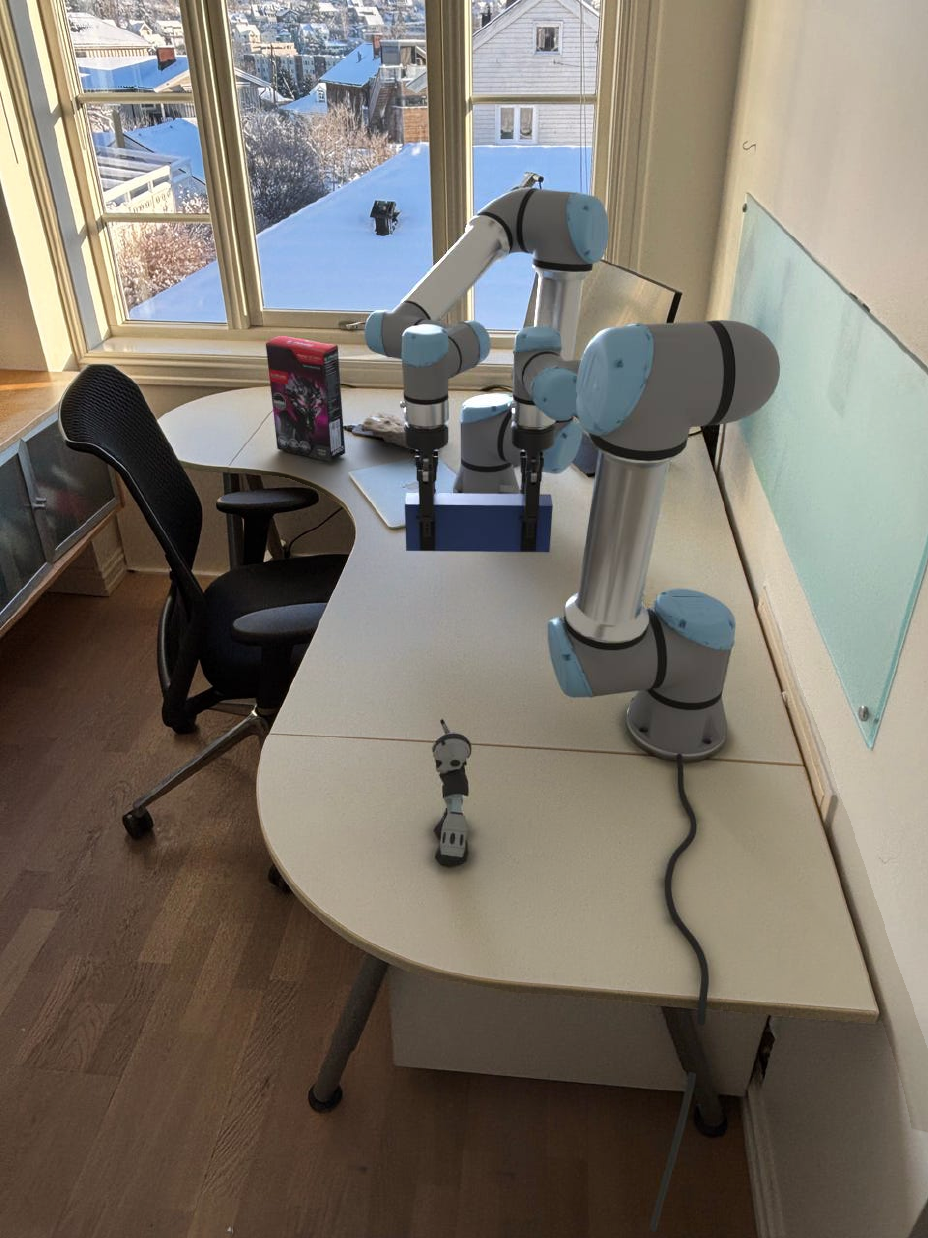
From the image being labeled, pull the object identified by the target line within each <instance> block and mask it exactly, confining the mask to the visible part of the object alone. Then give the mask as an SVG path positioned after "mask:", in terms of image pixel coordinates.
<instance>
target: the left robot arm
mask: <svg viewBox="0 0 928 1238" xmlns="http://www.w3.org/2000/svg"><path fill="white" fill-rule="evenodd" d="M609 224H610V223H609V218H608V213H607V209H606V208H605V206H604V203H603V202H602V200H600V198H598V197H597V196H594V195H592V194H586V193H582V192H579V191H567V190H556V189H555V190H554V189H544V188H537V187H520V188H516V189H514V190H511V191H508V192H506V193H503V194H502V195H499V196H498V197H496V198H495V199H493V200H492V201H490V202H489V203H487V204H486V205H484V206H483V207H482V208H481V209H480V210H478V211H477V213H475V214H474V215H473V217H472V218H470V219H469V221H468V222H467V225H466V227H465V233H464V234H463V235H462V236H461V237H460V238H459V239H458V240H457V242H456V243H454V245H453V246H452V247H451V248H450V249H449V250H448V251H447V252H446V254H444V256H443V257H442V258H441V259H440V260H439V261H438V262H437V263H436V264H435V265H434V266H433V267H432V268H431V269H430V271H428V272H427V274H426V275H425V276H424V277H423V278H422V279H421V280H420V281H419V282H418V283H417V284H416V285H415V286H414V287H413V288H412V289H411V291H410V292H409V293H407V295H406V296H405V297H404V298H403V299H402V300H401V301H400V302H399V304H398V305H396V307H395V308H394V309H393V310H392V311H391V310H388V309H385V310H380V309H378V310H376V311H373V312H372V313H371V314H370V315H369V316H368V317H367V319H366V322H365V324H364V332H363V334H364V335H363V336H364V340H365V343H366V346H367V347H368V349H369V350H370V351H371V352H372V353H376V354H378V355H381V356H385V357H387V358H392V359H397V360H401V367H402V385H403V393H402V394H403V395H402V396H403V401H400V402H399V407H400V408H401V409H403V419H404V421H405V423H404V438H405V443H406V445H407V446H409V447H410V448H412V449H411V450H415V456H414V466H415V467H416V481H417V482H418V493H419V516H416V520H419V523H420V551H419V552H436V551H435V515H434V493H437V489H436V482H437V478H438V477H437V476H438V473H437V472H438V465H439V450H440V449H442V448H445V447H446V446H447V445H448V443H449V422H448V421H449V419H450V409H449V408H450V397H449V381H450V379H453V378H454V377H456V376H458V375H460V374H463V373H464V372H467V371H469V370H471V369H474V368H476V367H477V366H478V365H479V364H480V363H483V362H484V361H485V360H486V359H487V358H488V356H489V354H490V352H491V346H492V345H491V336H490V334H489V332H488V330H487V328H486V327H485V326H484V325H483V324H481V323H480V322H479V321H476V320H471V319H470V320H466V321H463V320H462V321H460V322H458V323H457V324H454V323H453V324H452V323H449V322H443V320H444V319H445V318H446V317H447V315H448V314H449V313H450V312H451V311H452V310H453V309H454V308H455V307H456V305H457V304H459V302H460V301H461V300H462V299H463V298H464V296H465V295H466V294H467V293H468V292H469V291H470V290H471V289H472V288H473V287H474V286H475V284H476V283H477V282H478V281H479V280H480V279H481V278H482V277H483V275H484V274H485V273H486V272H487V271H488V270H489V269H490V268H491V266H492V265H493V264H494V263H495V264H496V263H500V262H502V261H504V260H505V259H506V258H507V257H508V256H509V255H510V254H513V253H524V254H529V255H530V254H531V255H532V264H531V265H532V268H533V269H534V271H535V272H536V273H537V275H538V285H537V293H536V304H535V314H534V324H533V327H534V326H542V327H549V328H553V329H555V330H557V331H558V332H559V333H560V334H561V347H562V350H561V357H562V359H563V360H564V361H570V360H574V356H575V349H576V341H577V332H578V325H579V316H580V307H581V300H582V294H583V293H582V291H583V284H584V280H585V278H586V277H588V276H589V275H590V274H591V273H592V272H593V268H594V267H593V266H594V264H597V263H599V262H600V261H601V260H602V259H603V257H604V255H605V253H606V252H605V251H606V249H607V248H608V247H607V246H608V244H609V243H608V242H609V233H610V232H609V231H610V229H609V226H610V225H609ZM509 403H513V395H511V394H508V393H507V394H506V393H486V394H485V393H484V394H480V395H476V396H474V397H471V398H469V399H467V400H466V401H465V402H463V404H462V406H461V409H460V419H459V424H460V464H459V468H458V470H457V474H456V476H455V479H454V481H453V485H452V489H453V493H461V494H520V486H519V483H518V478H517V475H516V472H515V469H514V467H513V466H514V465H517V466H521V461H520V451H523V450H521V449H518V448H516V447H514V446H513V445H512V443H511V424H512V422H513V420H512V409H511V408H509V407H508V405H509ZM574 417H575V416H574ZM574 417H572V418H570V419H568V420H563V421H559V420H556V422H555V423H554V424H555V425H556V429H555V442H554V445H553V446H552V447H551V448H549V449H547V450H543V457H544V466H543V468H542V473H548V474H551V475H558V474H562V473H563V472H564V471H566V470H567V469H568V468H569V467H570V466H571V464H572V463H573V462H574V460H575V459H576V457H577V454H578V451H579V449H580V447H581V443H582V439H583V427H582V426H581V424H580V422H578V420H574Z"/></svg>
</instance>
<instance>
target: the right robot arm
mask: <svg viewBox="0 0 928 1238" xmlns="http://www.w3.org/2000/svg"><path fill="white" fill-rule="evenodd" d="M561 350H562V347H561V334H560V333H559V332H558V331H557V330H555V329H553V328H549V327H542V326H534V325H533V326H526V327H523V328H521V329H519V330H518V331H517V332H516V334H515V337H514V346H513V350H512V354H513V371H512V373H513V374H512V376H513V377H512V397H513V403H509V405H508V407H509V408H511V409H512V420H513V422H512V424H511V443H512V445H513V446H514V447H516V448H518V449H521V450H523V451H520V461H521V466H520V465H519V466H520V467H519V468H520V473H521V478H520V479H521V480H520V481H521V482H520V489H519V494H524V506H523V516H519V521H522V527H521V548H520V550H521V551H536V536H537V522H538V520H539V517H538V515H539V498H540V494H541V483H542V481H543V472H542V468H543V466H544V457H543V450H547V449H549V448H551V447H552V446H553V445H554V442H555V429H556V425H555V424H554V423H555V422H556V420H559V421H563V420H568V419H570V418H572V417H576V416H577V418H578V421H579V422H578V423H580V424H581V426H582V430H584V431H585V432H586V433H588V439H589V441H590V444H592V446H593V447H594V448H595V449H596V450H597V452H598V454H597V459H596V460H597V461H596V466H595V472H594V473H595V474H594V480H593V489H592V494H591V502H590V508H589V516H588V523H587V530H586V537H585V544H584V549H583V556H582V557H583V558H582V563H581V564H582V565H581V571H580V579H579V586H578V592H576V593H574V594H573V595H572V596H570V598H569V599H568V600H567V602H566V604H565V608H564V614H563V617H560V616H556V617H555V618H551V620H549V621H548V623H547V630H546V633H547V634H546V635H547V645H548V651H549V656H550V661H551V665H552V668H553V669H552V670H553V673H554V675H555V678H556V682H557V683H558V686H559V688H560V689H561V691H562V692H563V694H565V695H566V696H568V697H570V698H573V699H574V698H575V699H576V698H590V699H592V698H595V697H601V696H609V695H616V694H624V693H625V694H626V693H630V692H636V694H635V695H634V697H632V698H631V700H630V704H629V706H628V708H627V711H626V719H625V728H626V732H627V734H628V736H629V738H630V739H631V741H632V742H634V744H636V745H637V746H638V747H639V748H640V749H641V750H643V751H645V752H646V753H648V754H650V755H651V756H654V757H656V758H659V759H662V760H666V761H670V762H675V763H676V768H677V769H676V770H677V791H678V795H679V799H680V801H681V804H682V806H683V808H684V810H685V811H686V814H687V816H688V818H689V823H690V827H689V832H688V834H687V836H686V838H685V839H684V840H683V841H682V843H681V844H680V845H679V846H677V848H676V849H675V850H674V852H673V853H672V855H670V857H669V860H668V863H667V868H666V870H665V876H664V896H665V903H666V906H667V910H668V912H669V915H670V917H671V919H672V921H673V922H674V924H675V925H676V927H677V928H678V930H679V931H680V932H681V933H682V935H683V936H684V937H685V938H686V940H687V941H688V942H689V944H690V946H691V947H692V949H693V950H694V952H695V954H696V957H697V959H698V960H697V961H698V963H699V967H700V988H699V996H698V1004H697V1018H696V1021H697V1024H698V1025H699V1026H702V1027H703V1026H704V1025H705V1023H706V1013H707V1012H706V1011H707V1002H708V994H709V983H710V980H709V979H710V976H709V967H708V962H707V958H706V955H705V953H704V951H703V948H702V946H701V945H700V943H699V941H698V940H697V939H696V937H695V936H694V935H693V933H692V932H691V931H690V929H689V928H688V927H687V926H686V924H685V923H684V922H683V920H682V919H681V917H680V916H679V913H678V912H677V909H676V906H675V903H674V898H673V893H672V880H673V875H674V870H675V866H676V863H677V861H678V859H679V858H680V856H681V855H682V854H683V853H684V852H685V850H687V848H688V847H689V846H690V845H691V844H692V842H693V841H694V840H695V837H696V834H697V829H698V828H697V826H698V824H697V823H698V822H697V818H696V815H695V812H694V810H693V807H692V806H691V804H690V802H689V800H688V798H687V794H686V791H685V786H684V782H685V781H684V780H685V779H684V763H694V762H700V761H703V760H706V759H709V758H711V757H714V755H716V754H718V752H720V751H721V750H722V748H723V747H724V744H725V743H726V740H727V739H726V738H727V734H728V721H727V716H726V712H725V708H724V707H725V706H724V701H723V692H724V686H725V682H726V678H727V672H728V668H729V664H730V659H731V654H732V651H733V650H732V649H733V648H734V646H735V635H736V618H735V616H734V614H733V612H732V611H731V609H730V608H729V607H728V606H727V605H726V604H725V603H723V602H722V601H721V600H719V599H717V598H715V596H712V595H709V594H707V593H704V592H702V591H699V590H694V589H689V588H670V589H667V590H666V589H665V590H663V591H662V592H661V593H660V594H658V595H657V597H656V599H654V602H653V607H650V608H649V607H648V608H647V607H646V606H645V604H644V603H643V602H642V601H643V597H644V592H645V587H646V581H647V577H648V572H649V567H650V562H651V558H652V557H651V556H652V551H653V547H654V542H655V536H656V532H657V527H658V523H659V517H660V514H661V513H660V512H661V508H662V502H663V497H664V493H665V488H666V483H667V476H668V472H669V467H670V462H671V461H672V460H675V459H676V458H678V457H679V456H681V455H682V454H683V453H684V451H685V450H686V447H687V444H688V439H689V436H690V435H689V434H690V431H691V429H692V428H697V427H707V426H717V425H718V426H719V425H725V424H729V423H734V422H738V421H740V420H743V419H746V418H747V417H750V416H751V415H753V414H754V413H756V412H758V411H759V410H760V409H762V407H763V406H765V405H766V404H767V403H768V402H769V400H771V397H773V395H774V393H775V391H776V389H777V386H778V383H779V380H780V377H781V375H780V374H781V363H780V358H779V357H780V356H779V354H778V350H777V348H776V346H775V345H774V343H773V342H772V340H771V339H770V338H769V337H768V336H767V335H766V334H765V333H764V332H762V331H761V330H760V329H758V328H756V327H755V326H752V325H750V324H748V323H745V322H741V321H737V320H726V319H718V320H716V319H715V320H706V321H686V322H665V323H646V324H645V323H642V322H633V323H629V324H627V325H621V326H611V327H606V328H603V329H602V330H600V331H599V332H598V333H596V334H595V336H593V337H592V338H591V339H590V341H589V342H588V344H587V345H586V348H585V349H584V351H583V354H582V356H581V359H573V360H570V361H564V360H563V359H562V357H561ZM697 1074H698V1073H697V1072H692V1071H688V1076H687V1080H686V1085H685V1090H684V1095H683V1099H682V1103H681V1107H680V1112H679V1116H678V1121H677V1124H676V1128H675V1133H674V1136H673V1140H672V1144H671V1147H670V1150H669V1151H670V1152H669V1155H668V1159H667V1162H666V1166H665V1169H664V1172H663V1173H664V1174H663V1176H662V1181H661V1184H660V1188H659V1192H658V1195H657V1198H656V1203H655V1207H654V1211H653V1214H652V1218H651V1222H650V1226H649V1229H650V1231H651V1232H656V1231H657V1227H658V1225H659V1221H660V1217H661V1214H662V1213H661V1212H662V1209H663V1205H664V1201H665V1198H666V1194H667V1191H668V1187H669V1183H670V1180H671V1177H672V1173H673V1170H674V1166H675V1162H676V1159H677V1156H678V1152H679V1148H680V1146H681V1145H680V1144H681V1140H682V1136H683V1133H684V1131H685V1130H684V1129H685V1125H686V1122H687V1118H688V1113H689V1110H690V1105H691V1101H692V1096H693V1092H694V1088H695V1083H696V1079H697Z"/></svg>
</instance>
